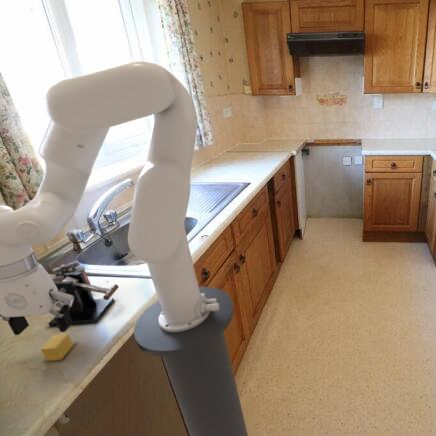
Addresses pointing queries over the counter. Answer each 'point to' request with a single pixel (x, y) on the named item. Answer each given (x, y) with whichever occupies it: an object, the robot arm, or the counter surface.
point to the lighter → (68, 271)
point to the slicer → (82, 302)
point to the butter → (57, 347)
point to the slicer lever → (93, 287)
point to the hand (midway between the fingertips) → (44, 329)
